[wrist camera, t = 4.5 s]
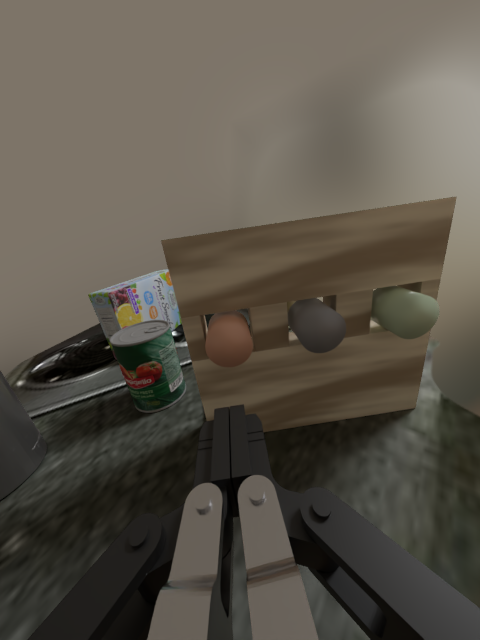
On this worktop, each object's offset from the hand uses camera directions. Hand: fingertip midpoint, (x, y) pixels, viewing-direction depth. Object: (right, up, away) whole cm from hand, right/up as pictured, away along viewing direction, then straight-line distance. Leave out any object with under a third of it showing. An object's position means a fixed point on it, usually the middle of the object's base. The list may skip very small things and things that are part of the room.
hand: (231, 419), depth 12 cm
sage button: (+15, +4, +10) cm, 19 cm away
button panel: (+9, -5, +19) cm, 22 cm away
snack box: (-21, 0, +45) cm, 49 cm away
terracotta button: (0, +2, +10) cm, 10 cm away
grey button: (+8, +3, +10) cm, 13 cm away
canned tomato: (-12, -7, +24) cm, 27 cm away
